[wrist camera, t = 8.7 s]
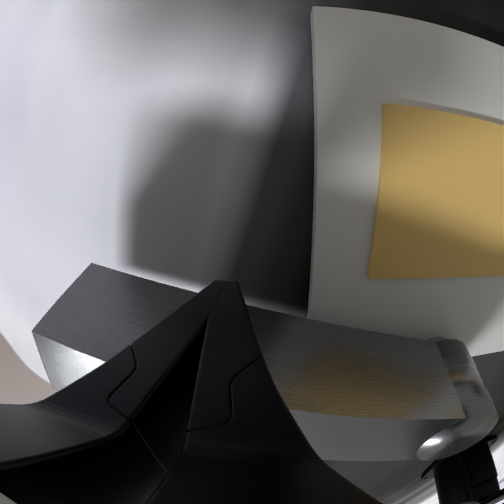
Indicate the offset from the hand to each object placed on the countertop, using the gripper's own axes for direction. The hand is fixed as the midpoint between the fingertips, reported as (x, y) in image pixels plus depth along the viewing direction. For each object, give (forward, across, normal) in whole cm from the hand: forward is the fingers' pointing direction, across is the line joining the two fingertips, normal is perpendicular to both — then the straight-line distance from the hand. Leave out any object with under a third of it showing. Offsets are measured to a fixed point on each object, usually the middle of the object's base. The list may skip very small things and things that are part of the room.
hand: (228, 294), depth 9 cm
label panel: (+4, -14, -1) cm, 15 cm away
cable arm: (+2, -2, +4) cm, 5 cm away
